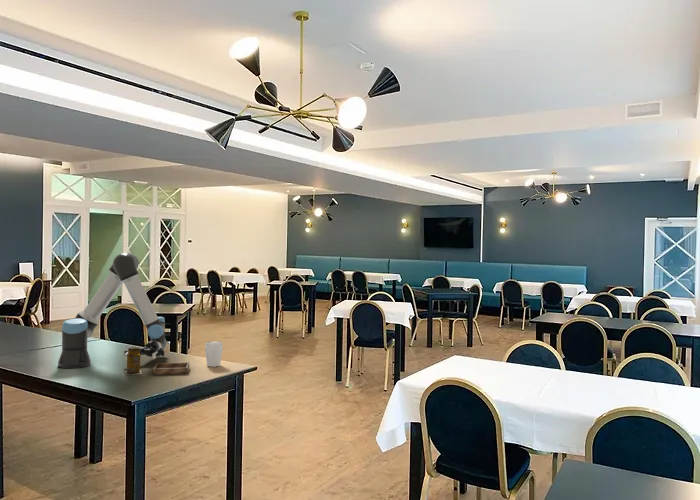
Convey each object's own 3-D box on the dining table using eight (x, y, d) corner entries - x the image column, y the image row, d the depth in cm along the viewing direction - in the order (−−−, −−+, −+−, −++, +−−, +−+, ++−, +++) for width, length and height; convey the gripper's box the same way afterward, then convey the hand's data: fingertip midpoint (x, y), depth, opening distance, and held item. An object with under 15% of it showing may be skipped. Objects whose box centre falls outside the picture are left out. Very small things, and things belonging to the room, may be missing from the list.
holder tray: (152, 375, 266) (152, 368, 266) (156, 369, 279) (156, 363, 278) (187, 374, 269) (187, 367, 269) (189, 368, 282) (189, 362, 282)
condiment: (140, 370, 275) (140, 346, 275) (141, 374, 268) (142, 349, 268) (124, 371, 272) (124, 347, 272) (125, 375, 265) (126, 350, 265)
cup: (219, 367, 284) (220, 344, 284) (202, 367, 284) (202, 344, 284) (224, 364, 293) (224, 341, 293) (207, 363, 293) (207, 341, 293)
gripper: (175, 355, 298) (164, 364, 277) (128, 355, 297) (113, 363, 276) (175, 341, 298) (164, 349, 277) (129, 341, 297) (114, 348, 276)
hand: (139, 356), depth 276 cm, fingers open, 13 cm apart
